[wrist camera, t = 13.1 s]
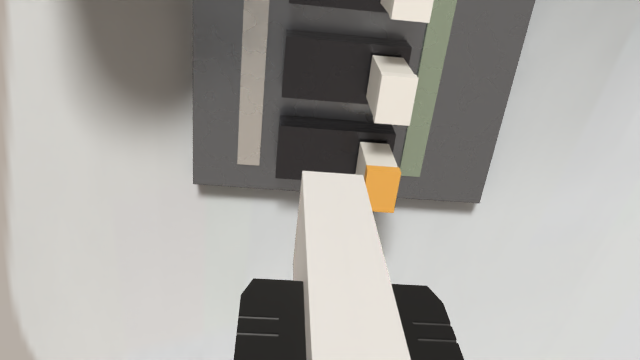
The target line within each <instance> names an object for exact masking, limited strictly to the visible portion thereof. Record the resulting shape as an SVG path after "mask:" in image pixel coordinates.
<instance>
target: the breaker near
mask: <svg viewBox="0 0 640 360" xmlns="http://www.w3.org/2000/svg"><path fill="white" fill-rule="evenodd" d="M433 2H434V0H381V2H380V3H381V4H382V6H383V7H384V8H385V10H386V11H387V12H388V14H389V17H390V18H391V19H394V20H404V21H414V22H424V23H429V22H430V17H431V12H432V7H433Z"/></svg>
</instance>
